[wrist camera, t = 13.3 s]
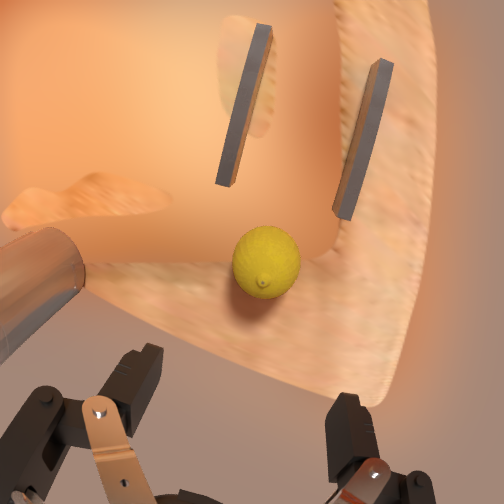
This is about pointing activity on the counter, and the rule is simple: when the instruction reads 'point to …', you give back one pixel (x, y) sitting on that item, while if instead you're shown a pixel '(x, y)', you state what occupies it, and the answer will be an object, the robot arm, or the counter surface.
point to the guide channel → (361, 137)
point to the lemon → (266, 262)
